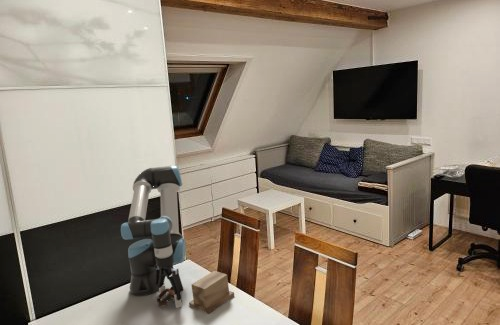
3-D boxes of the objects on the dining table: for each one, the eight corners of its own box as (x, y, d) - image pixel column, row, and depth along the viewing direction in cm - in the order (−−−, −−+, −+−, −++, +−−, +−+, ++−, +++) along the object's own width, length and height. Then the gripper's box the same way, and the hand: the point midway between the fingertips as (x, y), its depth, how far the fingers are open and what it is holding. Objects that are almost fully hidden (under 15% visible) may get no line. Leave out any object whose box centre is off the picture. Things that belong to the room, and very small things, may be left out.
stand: (189, 305, 151) (186, 284, 149) (214, 288, 163) (212, 268, 161) (209, 313, 143) (206, 291, 142) (234, 295, 155) (232, 274, 154)
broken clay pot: (181, 311, 148) (169, 298, 145) (164, 319, 151) (151, 307, 148) (186, 290, 159) (175, 278, 156) (170, 298, 161) (159, 286, 159)
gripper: (141, 254, 154) (148, 301, 157) (173, 263, 140) (181, 314, 143) (155, 247, 160) (162, 293, 163) (187, 256, 146) (194, 305, 149)
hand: (171, 303), depth 153 cm, fingers open, 9 cm apart
